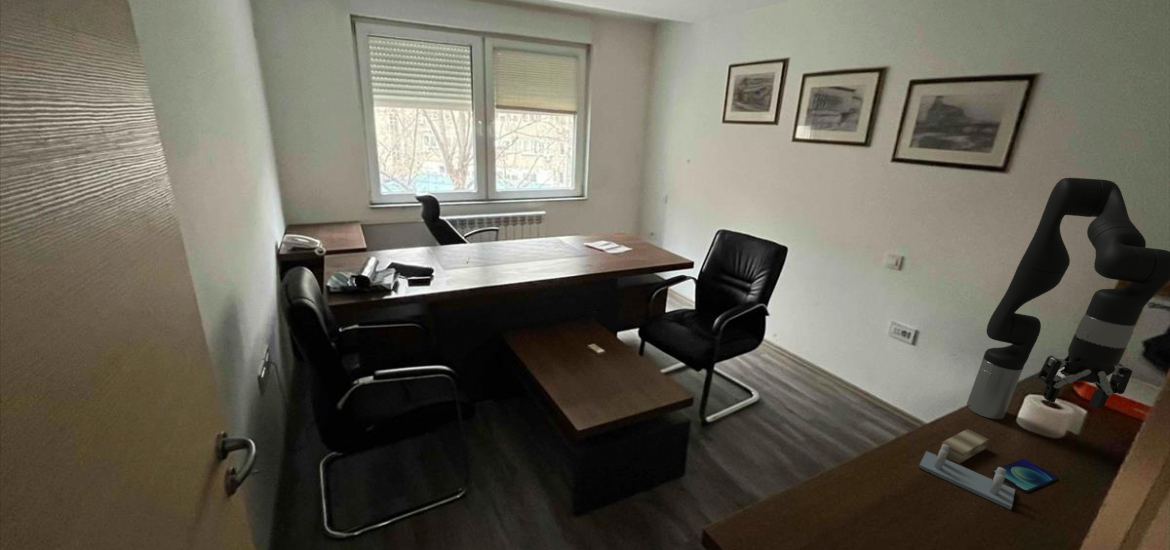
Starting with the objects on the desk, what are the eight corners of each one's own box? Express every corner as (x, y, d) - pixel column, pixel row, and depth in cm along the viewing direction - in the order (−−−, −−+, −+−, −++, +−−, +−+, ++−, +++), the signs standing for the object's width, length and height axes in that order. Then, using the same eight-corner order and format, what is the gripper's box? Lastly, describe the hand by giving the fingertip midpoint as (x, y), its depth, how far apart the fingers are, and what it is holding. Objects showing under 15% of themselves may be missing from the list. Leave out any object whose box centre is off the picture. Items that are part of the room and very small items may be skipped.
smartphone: (1060, 477, 115) (1026, 491, 110) (1058, 480, 116) (1025, 494, 110) (1024, 458, 122) (990, 470, 117) (1022, 461, 122) (989, 473, 117)
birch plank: (963, 439, 130) (967, 428, 129) (984, 449, 126) (988, 439, 125) (937, 453, 124) (941, 442, 123) (959, 464, 119) (963, 453, 118)
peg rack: (918, 467, 117) (924, 448, 115) (925, 454, 122) (931, 435, 120) (1010, 510, 105) (1019, 489, 103) (1013, 492, 110) (1022, 472, 108)
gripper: (1126, 335, 98) (1095, 399, 103) (1048, 326, 100) (1022, 389, 106) (1158, 351, 91) (1124, 419, 96) (1074, 341, 94) (1045, 407, 99)
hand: (1071, 403), depth 101 cm, fingers open, 8 cm apart
